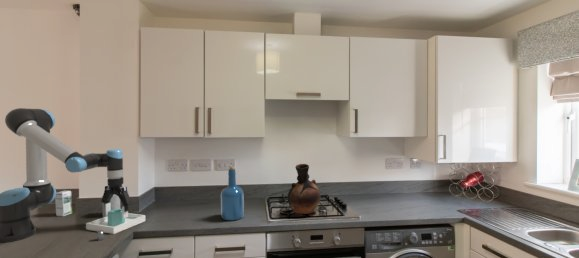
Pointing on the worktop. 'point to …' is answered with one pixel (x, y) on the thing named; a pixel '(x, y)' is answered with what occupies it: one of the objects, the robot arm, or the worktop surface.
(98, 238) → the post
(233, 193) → the wine bottle
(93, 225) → the tray
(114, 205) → the grey cylinder
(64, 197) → the syrup box
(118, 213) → the teal faceted pot
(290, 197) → the ceramic vessel
